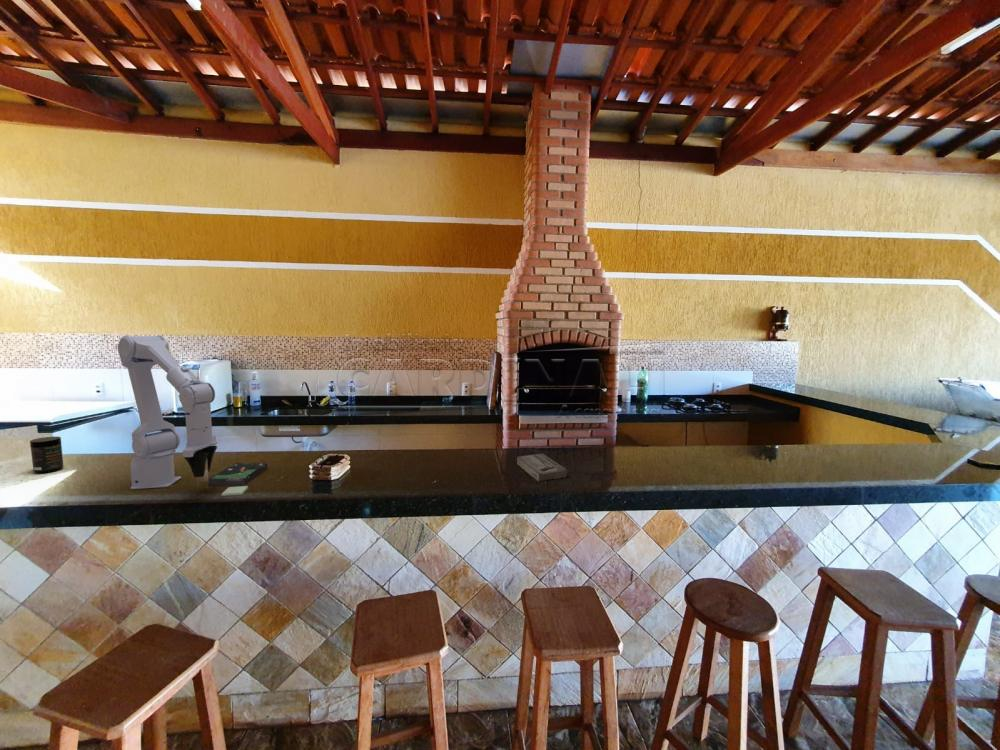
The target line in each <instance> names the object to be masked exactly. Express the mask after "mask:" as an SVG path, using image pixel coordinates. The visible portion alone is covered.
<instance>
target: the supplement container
mask: <svg viewBox="0 0 1000 750" xmlns="http://www.w3.org/2000/svg"><path fill="white" fill-rule="evenodd" d="M29 447H30V452H31V455H30V456H31V462H32V471H33V473H34V474H36V475H37V474H38V475H42V474H51V473H56V472H58V471H61V470H62V469H64V467H65V466H64V457H63V448H62V447H63V445H62V437H61V436H46V437H38V438H33V439H31V440H29Z"/></svg>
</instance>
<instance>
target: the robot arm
mask: <svg viewBox="0 0 1000 750" xmlns="http://www.w3.org/2000/svg"><path fill="white" fill-rule="evenodd" d="M117 350H118V354H119V355H118V356H119V359H120V360H119V361H120V362H121V365H122V367H124V368H127V371H128V377H129V380H130V384H131V387H132V392H133V395H134V400H135V403H136V407H137V411H138V414H139V419H140V425H139V426H138V427H137V428H136V429H135V430H133V432H132V433H131V438H132V443H131V449H132V451H133V453H134V454H135V457H134V458H133V459H132V460H131V463H130V477H131V479H130V480H131V487H130V490H140V489H156V488H168V487H170V486H172V485H173V484H174V483H176V482H177V481H179V480H180V479H182V476H176V475H175V464H174V463H175V462H174V453H176V452H177V451H176V450H177V449H178V448H179V447H180V445H181V444H180V443H181V438H180V435H179V433H178V432H177V430H176V427H175V425H174V424H173V423H170V422H168V421H167V420H164V417H163V413H162V409H161V404H160V400H159V397H158V393H157V389H156V388H157V387H156V385H155V384H156V383H155V382H154V377H153V373H152V368H153V366H156V365H157V366H159V368H161V369H162V370H163V371H164V372H165V373H166V377H165V378H166V380H167V382H168V383H169V384H170V385H171V386H172V387H173V388H174V389H175V390H176V391H177V392H178V393H179V394H178V398H179V402H180V404H181V407H182V411H183V412H184V414H185V415H184V416H185V426H186V427H185V428H186V429H185V430H186V442H187V443H186V444H185V446H184V449H183V450H182V457H183V458H184V460H185V461H186V462H187V463H188V465H189V467H190V469H191V472H192V475H193V477H194V478H196V477H203V476H204V473H205V464H206V459H207V462H208V473H209V472H210V471H211V466H212V461H213V457H214V455H215V452H216V450H217V449H218V446H217V444H218V441H217V439H216V435H213V428H212V424H213V423H212V408H211V405H212V404H211V403H213V402H214V400H215V398H216V390H215V388H214V387H213V385H212V384H211V383H210V382H205V381H204V380H200V378H198V377H197V376H196V375H195V373H194V372H192V370H191V369H190V368H189V367H188V366H184V365H180V364H179V362H178V361H177V359H176V358H175V357H174V356H173V354H171V352H170V344H169V341H168V340H167V339H166V338H165V337H164V336H162V335H144V336H143V335H142V336H141V335H138V336H137V335H136V336H129V335H124V336H122V337H121V338H120V340H119V341H118V345H117Z"/></svg>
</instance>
